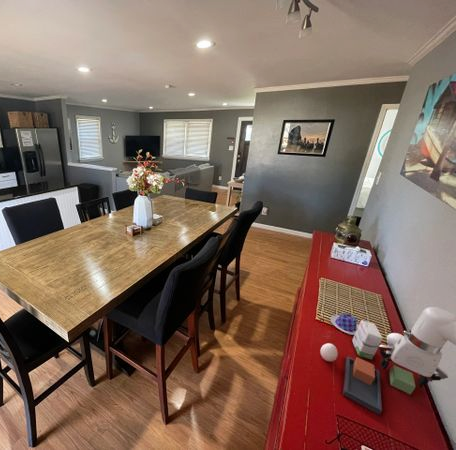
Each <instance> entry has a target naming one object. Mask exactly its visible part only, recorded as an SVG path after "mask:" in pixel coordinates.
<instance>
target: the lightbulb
mask: <svg viewBox="0 0 456 450" xmlns="http://www.w3.org/2000/svg"><path fill="white" fill-rule="evenodd" d="M403 336H404V335H403V334H401V333H398V332H391V333H389V334H388V335H387V336H386V342H387V346H394V345H395V344H396V343H397V342H398V341H399V340H400V339H401V338H402V337H403ZM385 353H391V351H387V350H385Z"/></svg>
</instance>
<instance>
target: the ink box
mask: <svg viewBox="0 0 456 450" xmlns="http://www.w3.org/2000/svg"><path fill="white" fill-rule="evenodd" d="M358 325H359V326H358V329H357V331H356V333H355V335H353V338H352V340H351V341H352V343H353V344H352V345H353V346H354V349H355V351H356V353H357V355H358V356H357V357H359V358H360V357H361V358H364V359H368V360H371V361H372V360H373V358H374V357H375V355H376V353H377V350H379V345H381V344H382V343H381V342H382V341H383V339H384V338H383V335H382V334H381V333H380V331H379V329H378V327H377V325H376V324H375V323H372V322H370V321H366V320H363V319H361V320H360V322H359V324H358Z"/></svg>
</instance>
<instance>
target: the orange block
mask: <svg viewBox="0 0 456 450" xmlns="http://www.w3.org/2000/svg"><path fill="white" fill-rule="evenodd" d="M375 369H376V368H375V364H373V363H371V362H369V361H367V360H364V359H362V358H360V357H359V356H356V357H355V362H354V364H353V377H355V378H357V379H359V380H361V381H363V382H365V383H367V384H369V385H371V384H372V382H373V380H374V379H375Z"/></svg>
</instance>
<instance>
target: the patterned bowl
mask: <svg viewBox="0 0 456 450" xmlns="http://www.w3.org/2000/svg"><path fill="white" fill-rule="evenodd" d="M330 322H331V324H332V325H333V327H335V328H337V329H338V330H340V331H341V332H344V333H346V334H348V335H353V336H354V335H355V333H356V331H357V329H358V326H359V324H358V321H357V318H356V317H355V316H354V315H352V314H349V313H348V312H342V313H341V314H334V315H332V316H330Z"/></svg>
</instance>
